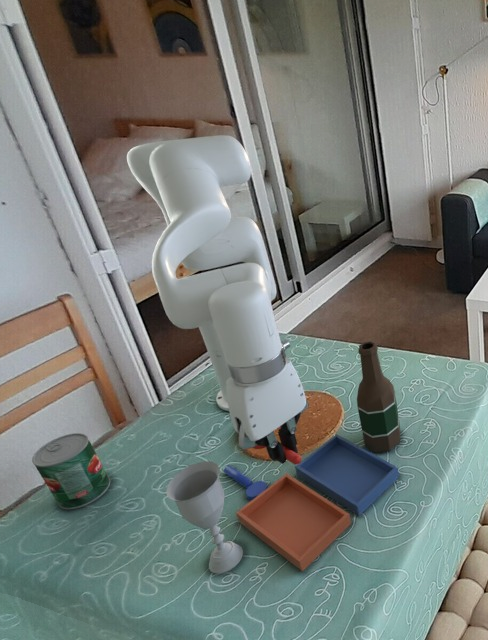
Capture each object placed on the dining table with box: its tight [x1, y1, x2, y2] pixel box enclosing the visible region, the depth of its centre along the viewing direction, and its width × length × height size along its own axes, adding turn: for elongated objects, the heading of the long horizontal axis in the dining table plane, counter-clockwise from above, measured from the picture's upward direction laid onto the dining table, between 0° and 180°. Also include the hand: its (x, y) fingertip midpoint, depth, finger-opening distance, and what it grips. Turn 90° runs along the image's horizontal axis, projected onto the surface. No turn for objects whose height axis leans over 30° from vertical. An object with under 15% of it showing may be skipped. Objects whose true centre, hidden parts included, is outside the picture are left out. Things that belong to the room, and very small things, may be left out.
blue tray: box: [294, 433, 400, 517], centre depth 96 cm, size 17×10×2 cm, turn 58°
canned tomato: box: [31, 432, 111, 510], centre depth 92 cm, size 8×8×11 cm
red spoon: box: [251, 445, 303, 465], centre depth 82 cm, size 12×4×2 cm, turn 58°
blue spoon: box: [223, 465, 269, 501], centre depth 95 cm, size 12×4×2 cm, turn 58°
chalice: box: [166, 460, 244, 575], centre depth 78 cm, size 7×7×18 cm
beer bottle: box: [356, 341, 401, 454], centre depth 100 cm, size 8×8×24 cm
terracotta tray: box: [235, 473, 352, 572], centre depth 87 cm, size 17×10×2 cm, turn 58°
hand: (284, 454), depth 82 cm, fingers closed on red spoon, 1 cm apart
